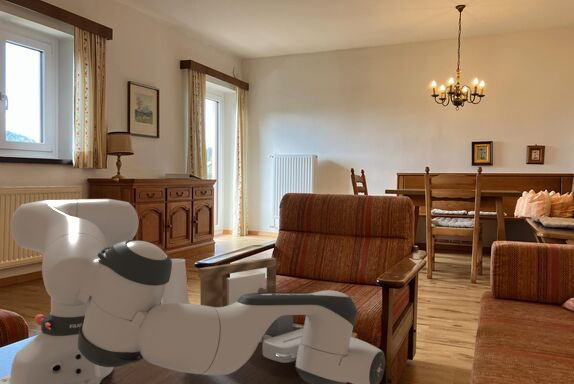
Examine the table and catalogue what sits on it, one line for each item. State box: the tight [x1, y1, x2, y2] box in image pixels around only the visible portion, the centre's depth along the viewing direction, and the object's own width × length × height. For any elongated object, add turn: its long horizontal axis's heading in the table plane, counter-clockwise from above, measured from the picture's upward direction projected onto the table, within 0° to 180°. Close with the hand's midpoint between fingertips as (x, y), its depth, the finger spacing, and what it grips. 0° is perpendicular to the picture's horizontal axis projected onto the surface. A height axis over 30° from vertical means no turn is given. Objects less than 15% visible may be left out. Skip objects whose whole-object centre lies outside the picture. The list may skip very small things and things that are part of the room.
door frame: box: [197, 257, 277, 307], centre depth 119 cm, size 23×2×22 cm, turn 132°
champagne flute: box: [161, 258, 190, 304], centre depth 112 cm, size 7×7×24 cm
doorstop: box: [261, 315, 294, 363], centre depth 115 cm, size 5×6×10 cm
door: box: [227, 272, 267, 343], centre depth 120 cm, size 12×3×18 cm, turn 132°
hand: (280, 333), depth 114 cm, fingers open, 8 cm apart
